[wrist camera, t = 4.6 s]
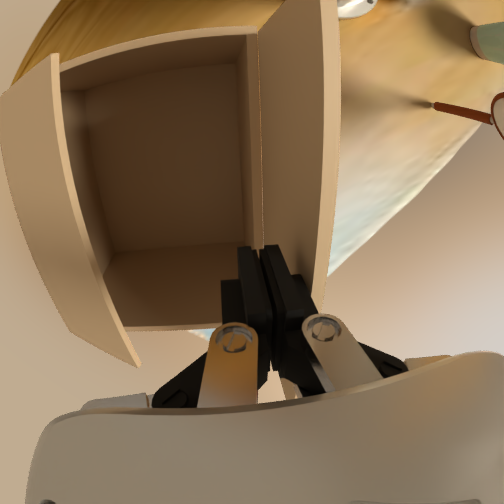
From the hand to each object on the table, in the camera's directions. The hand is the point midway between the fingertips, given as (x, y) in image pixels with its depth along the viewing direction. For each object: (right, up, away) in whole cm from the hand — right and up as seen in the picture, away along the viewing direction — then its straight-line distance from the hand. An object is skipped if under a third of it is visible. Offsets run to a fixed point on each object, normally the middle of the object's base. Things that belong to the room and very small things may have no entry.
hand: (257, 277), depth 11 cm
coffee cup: (+35, +33, +9) cm, 49 cm away
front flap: (+1, +2, +2) cm, 3 cm away
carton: (-10, +11, +17) cm, 23 cm away
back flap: (-13, +2, +3) cm, 14 cm away
